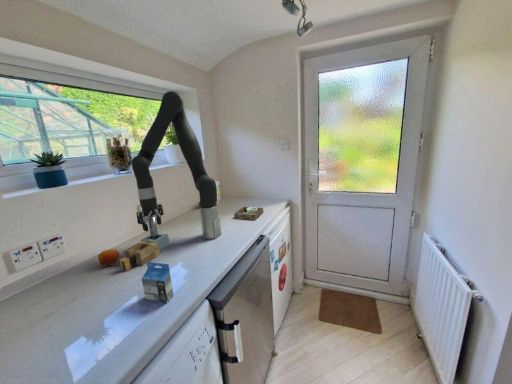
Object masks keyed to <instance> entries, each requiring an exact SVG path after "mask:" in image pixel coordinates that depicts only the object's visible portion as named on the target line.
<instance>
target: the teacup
mask: <svg viewBox="0 0 512 384" xmlns="http://www.w3.org/2000/svg"><path fill="white" fill-rule="evenodd" d="M248 207H249V208H247V212H246V214H255V213H257V209H258V208H259V207H258V206H257V207H256V206H248Z"/></svg>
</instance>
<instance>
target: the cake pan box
mask: <svg viewBox="0 0 512 384" xmlns="http://www.w3.org/2000/svg"><path fill="white" fill-rule="evenodd" d="M214 181H215V180H214ZM215 183H216V188H217V205H218V204H219V203H220V202H221V189H220V188H221V187H220V181H215Z"/></svg>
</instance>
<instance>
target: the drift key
mask: <svg viewBox="0 0 512 384" xmlns="http://www.w3.org/2000/svg"><path fill="white" fill-rule="evenodd" d="M119 263H120V266H121V270H123V271H126V272H128V271H129V270H130V269H131V268H132V267H134V266H135V265H137V262H136V257H135V253H134V254H133V255H131V256H129V257H128V258H125V257H122V258H120V259H119Z"/></svg>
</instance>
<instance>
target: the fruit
mask: <svg viewBox="0 0 512 384" xmlns="http://www.w3.org/2000/svg"><path fill="white" fill-rule="evenodd" d="M119 256H120V252H119V250H118V249H115V248H112V249H111V248H110V249H104V250H103V251H101V252H100V253H98V255H97V258H98V259H97V260H98V262H99V264H100V265H101V266H102V267H103V268H105V267H107V266H115V264H116V263H117V262H118V259H119Z"/></svg>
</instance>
